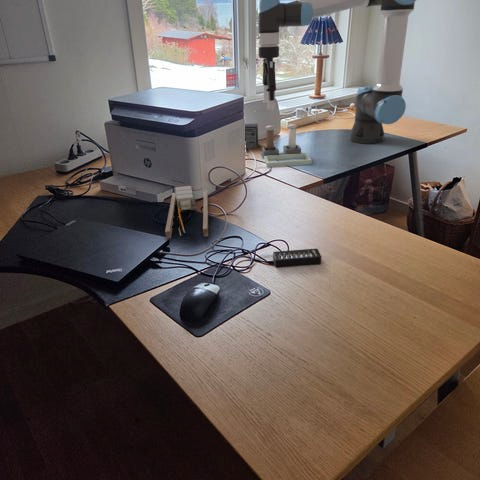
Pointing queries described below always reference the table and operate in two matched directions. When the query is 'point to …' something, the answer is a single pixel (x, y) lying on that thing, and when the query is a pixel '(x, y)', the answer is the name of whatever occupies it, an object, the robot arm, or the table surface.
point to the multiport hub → (296, 258)
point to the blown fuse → (270, 137)
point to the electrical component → (184, 200)
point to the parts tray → (287, 163)
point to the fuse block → (276, 151)
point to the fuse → (292, 136)
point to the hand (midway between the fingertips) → (269, 105)
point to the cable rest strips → (172, 210)
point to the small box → (251, 135)
